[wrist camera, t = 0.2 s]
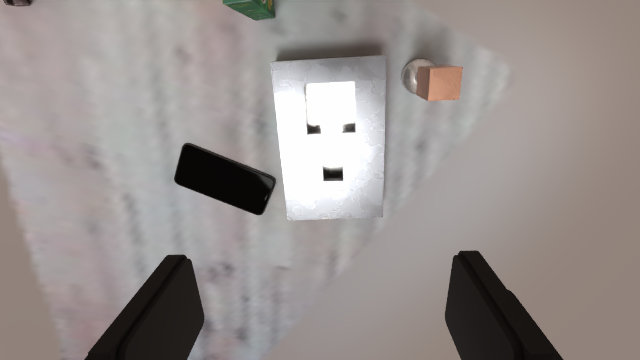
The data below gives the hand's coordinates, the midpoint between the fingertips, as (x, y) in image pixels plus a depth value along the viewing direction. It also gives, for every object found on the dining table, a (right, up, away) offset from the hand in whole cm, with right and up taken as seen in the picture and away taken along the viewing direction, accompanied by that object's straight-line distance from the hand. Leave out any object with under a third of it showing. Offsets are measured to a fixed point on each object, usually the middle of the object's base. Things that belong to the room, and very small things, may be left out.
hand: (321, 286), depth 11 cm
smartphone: (-15, +4, +39) cm, 41 cm away
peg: (+13, +18, +31) cm, 38 cm away
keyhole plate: (+2, +10, +35) cm, 36 cm away
